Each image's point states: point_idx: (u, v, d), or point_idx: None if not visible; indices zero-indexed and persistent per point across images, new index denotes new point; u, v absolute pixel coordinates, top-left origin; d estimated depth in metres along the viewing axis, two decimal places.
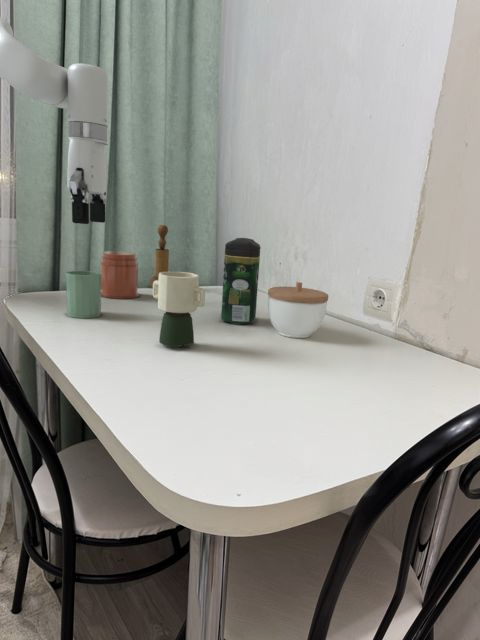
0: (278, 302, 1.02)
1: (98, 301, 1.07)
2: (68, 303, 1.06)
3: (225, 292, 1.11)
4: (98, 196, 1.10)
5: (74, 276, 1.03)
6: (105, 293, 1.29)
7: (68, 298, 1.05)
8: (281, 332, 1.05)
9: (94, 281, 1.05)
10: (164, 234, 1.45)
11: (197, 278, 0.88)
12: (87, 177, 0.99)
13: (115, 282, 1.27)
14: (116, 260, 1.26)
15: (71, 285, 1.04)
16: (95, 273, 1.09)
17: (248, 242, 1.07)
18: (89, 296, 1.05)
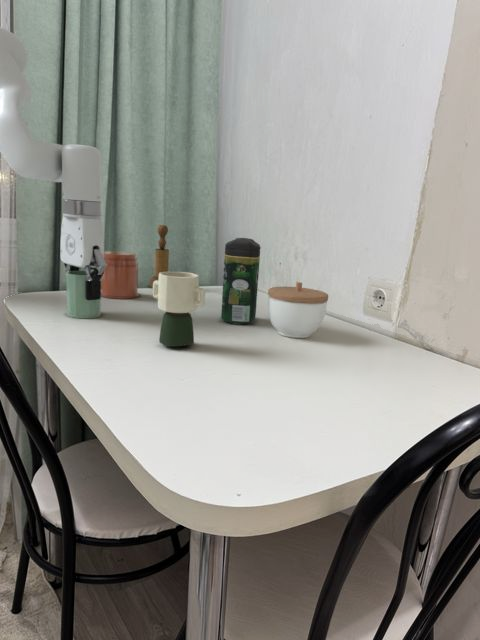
0: (278, 302, 1.02)
1: (98, 301, 1.07)
2: (68, 303, 1.06)
3: (225, 292, 1.11)
4: (72, 268, 1.09)
5: (74, 276, 1.03)
6: (105, 293, 1.29)
7: (68, 298, 1.05)
8: (281, 332, 1.05)
9: None
10: (164, 234, 1.45)
11: (197, 278, 0.88)
12: (102, 253, 1.03)
13: (115, 282, 1.27)
14: (116, 260, 1.26)
15: (71, 285, 1.04)
16: None
17: (248, 242, 1.07)
18: None
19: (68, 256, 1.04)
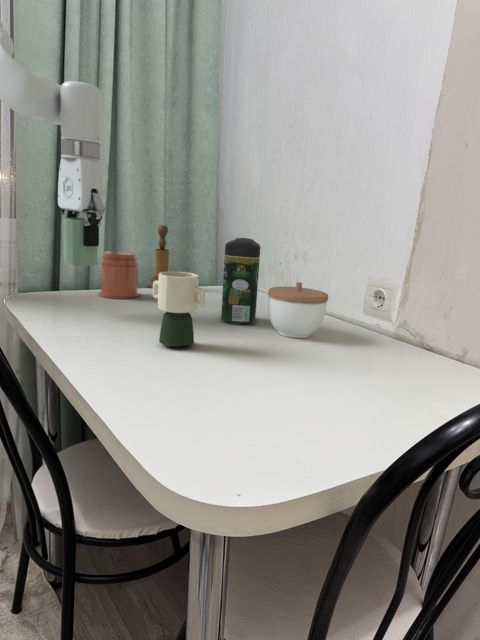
0: (278, 302, 1.02)
1: (96, 249, 1.04)
2: (65, 249, 1.03)
3: (225, 292, 1.11)
4: (70, 215, 1.06)
5: (71, 221, 1.00)
6: (105, 293, 1.29)
7: (65, 244, 1.03)
8: (281, 332, 1.05)
9: None
10: (164, 234, 1.45)
11: (197, 278, 0.88)
12: (101, 198, 1.00)
13: (115, 282, 1.27)
14: (116, 260, 1.26)
15: (68, 230, 1.01)
16: None
17: (248, 242, 1.07)
18: None
19: (66, 200, 1.01)
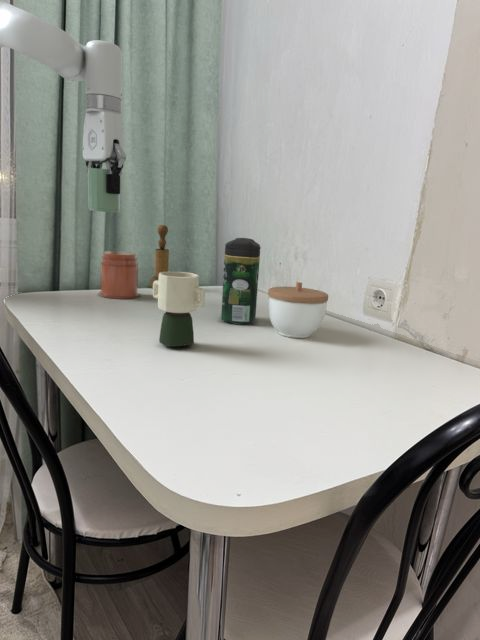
0: (278, 302, 1.02)
1: (117, 197, 1.14)
2: (89, 197, 1.13)
3: (225, 292, 1.11)
4: (93, 167, 1.16)
5: (95, 170, 1.10)
6: (105, 293, 1.29)
7: (89, 192, 1.12)
8: (281, 332, 1.05)
9: None
10: (164, 234, 1.45)
11: (197, 278, 0.88)
12: (122, 148, 1.10)
13: (115, 282, 1.27)
14: (116, 260, 1.26)
15: (92, 179, 1.11)
16: None
17: (248, 242, 1.07)
18: None
19: (90, 151, 1.11)
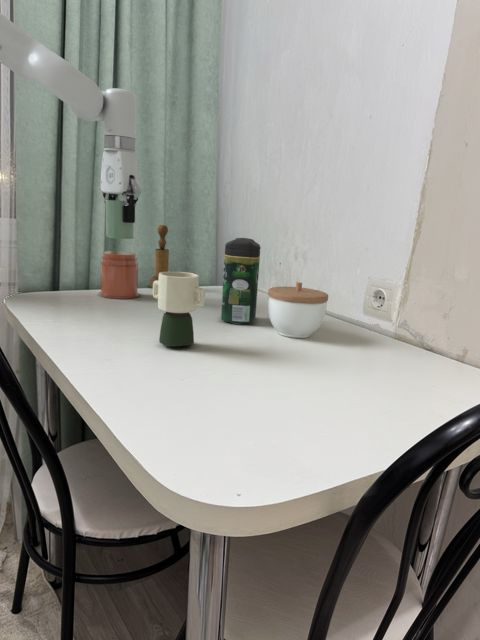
0: (278, 302, 1.02)
1: (132, 225, 1.27)
2: (107, 226, 1.26)
3: (225, 292, 1.11)
4: (110, 198, 1.29)
5: (113, 202, 1.23)
6: (105, 293, 1.29)
7: (108, 221, 1.25)
8: (281, 332, 1.05)
9: None
10: (164, 234, 1.45)
11: (197, 278, 0.88)
12: (137, 182, 1.23)
13: (115, 282, 1.27)
14: (116, 260, 1.26)
15: (110, 210, 1.24)
16: None
17: (248, 242, 1.07)
18: None
19: (108, 185, 1.24)
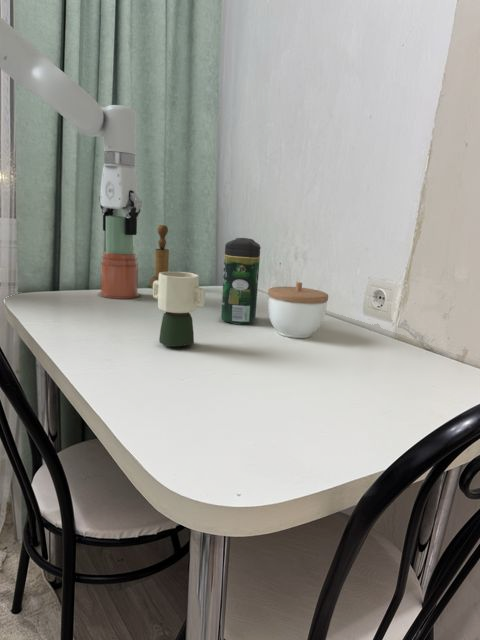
0: (278, 302, 1.02)
1: (132, 241, 1.28)
2: (107, 242, 1.27)
3: (225, 292, 1.11)
4: (107, 209, 1.30)
5: (113, 218, 1.24)
6: (105, 293, 1.29)
7: (107, 237, 1.26)
8: (281, 332, 1.05)
9: None
10: (164, 234, 1.45)
11: (197, 278, 0.88)
12: None
13: (115, 282, 1.27)
14: (116, 260, 1.26)
15: (110, 226, 1.25)
16: None
17: (248, 242, 1.07)
18: (125, 235, 1.26)
19: (107, 200, 1.25)
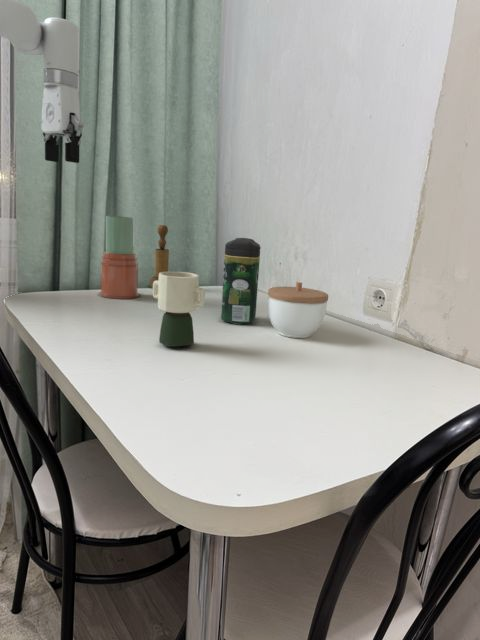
0: (278, 302, 1.02)
1: (132, 241, 1.28)
2: (107, 242, 1.27)
3: (225, 292, 1.11)
4: (50, 137, 1.22)
5: (113, 218, 1.24)
6: (105, 293, 1.29)
7: (107, 237, 1.26)
8: (281, 332, 1.05)
9: (129, 223, 1.26)
10: (164, 234, 1.45)
11: (197, 278, 0.88)
12: None
13: (115, 282, 1.27)
14: (116, 260, 1.26)
15: (110, 226, 1.25)
16: (129, 218, 1.30)
17: (248, 242, 1.07)
18: (125, 235, 1.26)
19: (48, 124, 1.16)
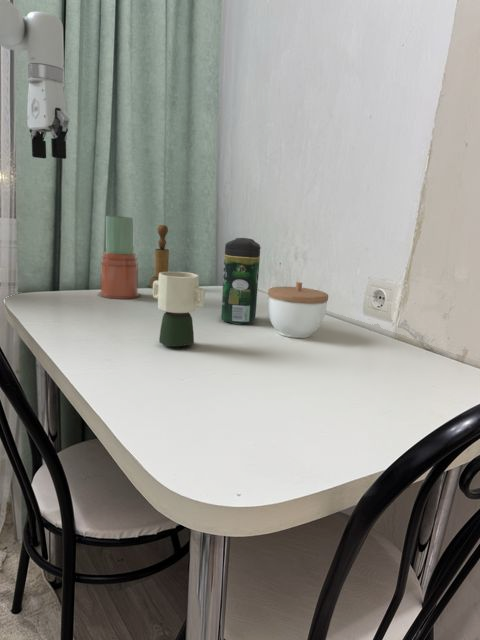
0: (278, 302, 1.02)
1: (132, 241, 1.28)
2: (107, 242, 1.27)
3: (225, 292, 1.11)
4: (37, 133, 1.21)
5: (113, 218, 1.24)
6: (105, 293, 1.29)
7: (107, 237, 1.26)
8: (281, 332, 1.05)
9: (129, 223, 1.26)
10: (164, 234, 1.45)
11: (197, 278, 0.88)
12: None
13: (115, 282, 1.27)
14: (116, 260, 1.26)
15: (110, 226, 1.25)
16: (129, 218, 1.30)
17: (248, 242, 1.07)
18: (125, 235, 1.26)
19: (34, 120, 1.15)
